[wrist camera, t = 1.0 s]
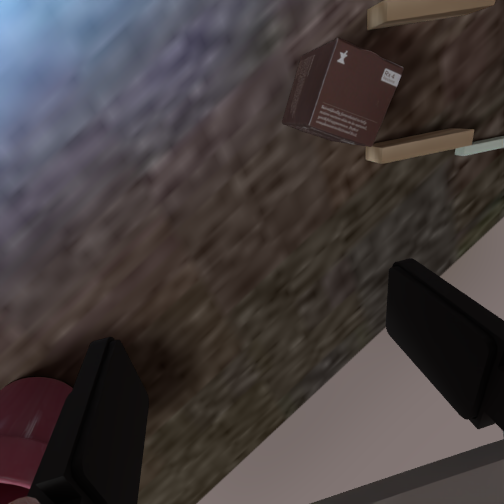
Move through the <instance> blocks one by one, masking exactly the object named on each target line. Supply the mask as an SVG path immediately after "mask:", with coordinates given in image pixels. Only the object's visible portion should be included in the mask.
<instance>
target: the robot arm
mask: <svg viewBox="0 0 504 504" xmlns="http://www.w3.org/2000/svg"><path fill="white" fill-rule="evenodd" d="M386 329H387V332H388V334H389V335H390V336H391V337H392V339H393V340H394V341H395V342H396V343H397V344H398V345H399V347H400V348H401V349H402V350H403V351H404V352H405V353H406V354H407V356H408V357H409V358H410V359H411V360H412V361H413V362H414V364H415V365H416V366H417V367H418V368H419V369H420V370H421V372H422V373H423V374H424V375H425V376H426V377H427V378H428V379H429V381H430V382H431V383H432V384H433V385H434V386H435V387H436V389H437V390H438V391H439V392H440V393H441V394H442V395H443V396H444V398H445V399H446V400H447V401H448V402H449V403H450V404H451V406H452V407H453V408H454V409H455V410H456V411H457V412H458V414H459V415H460V416H462V417H463V418H464V419H469V420H470V421H471V422H472V423H473V425H474V426H475V427H476V428H477V429H480V428H484V427H486V426H489V425H493V424H494V423H496V424H497V425H498V426H499V427H500V428H501V429H502V430H503V436H504V321H503V320H502V319H500V318H498V316H496V315H494V314H493V313H492V312H490V311H489V310H487V309H486V308H484V307H483V306H481V305H480V304H479V303H477V302H476V301H474V300H473V299H471V298H470V297H468V296H467V295H465V294H464V293H462V292H461V291H459V290H458V289H457V288H455V287H454V286H452V285H451V284H449V283H447V282H446V281H445V280H443V279H442V278H441V277H439V276H438V275H436V274H435V273H433V272H432V271H430V270H429V269H427V268H426V267H424V266H423V265H422V264H420V263H419V262H417V261H416V260H414V259H406V260H402V261H398V262H395V263H394V264H393V266H392V268H390V269H389V279H388V296H387V313H386ZM148 408H149V398H148V394H147V392H146V390H145V388H144V386H143V384H142V382H141V380H140V378H139V376H138V374H137V372H136V370H135V368H134V366H133V364H132V362H131V360H130V358H129V357H128V355H127V353H126V351H125V349H124V347H123V345H122V343H121V341H120V340H114V338H112V337H108V338H104V339H101V340H97V341H93V342H92V343H91V344H90V346H89V349H88V351H87V354H86V356H85V359H84V361H83V364H82V366H81V369H80V372H79V374H78V377H77V379H76V382H75V384H74V387H73V389H72V392H71V393H70V394H69V395H68V396H67V398H66V400H65V402H64V405H63V407H62V410H61V412H60V415H59V417H58V420H57V422H56V425H55V427H54V430H53V432H52V435H51V437H50V440H49V442H48V445H47V447H46V450H45V452H44V455H43V457H42V460H41V462H40V465H39V467H38V470H37V472H36V475H35V477H34V480H33V482H32V485H31V487H30V489H29V492H28V494H27V497H23V498H18V499H16V500H14V501H12V502H10V503H8V504H137V500H138V491H139V483H140V475H141V466H142V458H143V449H144V441H145V433H146V424H147V416H148ZM311 504H504V439H503V440H500V441H497V442H494V443H490V444H487V445H484V446H481V447H478V448H475V449H472V450H469V451H466V452H463V453H460V454H457V455H454V456H451V457H448V458H445V459H442V460H439V461H436V462H433V463H430V464H427V465H424V466H421V467H418V468H415V469H412V470H409V471H406V472H403V473H400V474H397V475H394V476H391V477H388V478H385V479H382V480H379V481H376V482H373V483H370V484H367V485H364V486H361V487H358V488H355V489H352V490H349V491H346V492H343V493H340V494H337V495H334V496H331V497H329V498H325V499H323V500H320V501H317V502H314V503H311Z"/></svg>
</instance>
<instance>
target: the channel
mask: <svg viewBox="0 0 504 504" xmlns="http://www.w3.org/2000/svg"><path fill="white" fill-rule="evenodd" d="M493 5H495V0H384V1H382V2H380V3H379V4H377V5H375V6H373V7H372V8H370V9H368V10H367V30H373V29H379V28H386V27H392V26H399V25H405V24H412V23H418V22H425V21H431V20H438V19H444V18H450V17H457V16H463V15H467V14H470V13H473V12H476V11H479V10H481V9H484V8H487V7H490V6H493ZM473 134H474V129H457V128H449V129H444V130H439V131H434V132H429V133H424V134H419V135H414V136H409V137H404V138H399V139H394V140H389V141H384V142H379V143H374V144H373V146H372V147H368V146H366V160H369V161H373V162H377V163H381V164H383V163H388V162H393V161H398V160H403V159H407V158H412V157H417V156H422V155H427V154H431V153H436V152H441V151H446V150H450V149H455V148H460V147H465V146H470V145H472V140H473Z"/></svg>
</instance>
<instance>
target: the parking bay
mask: <svg viewBox="0 0 504 504" xmlns="http://www.w3.org/2000/svg"><path fill="white" fill-rule="evenodd" d="M499 148H504V136H500V137H495V138H490V139H485V140H481V141H476V142H472V145H470V146H465V147H460V148H456V151H455V155H460V156H466V155H471V154H475V153H480V152H485V151H490V150H494V149H499Z"/></svg>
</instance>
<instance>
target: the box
mask: <svg viewBox="0 0 504 504" xmlns="http://www.w3.org/2000/svg"><path fill="white" fill-rule="evenodd" d="M403 70H404V68H403V67H402V66H400V65H398V64H395V63H394V62H391V61H389V60H387V59H384V58H382V57H380V56H379V55H377V54H376V53H374V52H372V51H369V50H365V49H363V48H360V47H358V46H356V45H354V44H352V43H350V42H348V41H346V40H343V39H341V38H337V39H335V40H333V41H331V42H329V43H327V44H325V45H323V46H321V47H319V48H317V49H315V50H313V51H311V52H309V53H307V54H305V55H302V57H301V59H300V63H299V66H298V69H297V73H296V76H295V79H294V83H293V86H292V90H291V93H290V96H289V100H288V103H287V106H286V110H285V113H284V117H283V120H282V124H284V125H287V126H290V127H293V128H296V129H298V130H301V131H304V132H306V133H310V134H313V135H315V136H319V137H322V138H325V139H327V140H330V141H336V142H342V143H349V144H355V145H362V146H368V147H372V146H373V143H374V141H375V138H376V136H377V134H378V131H379V129H380V126H381V124H382V121H383V119H384V116H385V114H386V112H387V109H388V107H389V104H390V102H391V99H392V97H393V95H394V92H395V90H396V88H397V85H398V83H399V80H400V78H401V75H402V72H403Z"/></svg>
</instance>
